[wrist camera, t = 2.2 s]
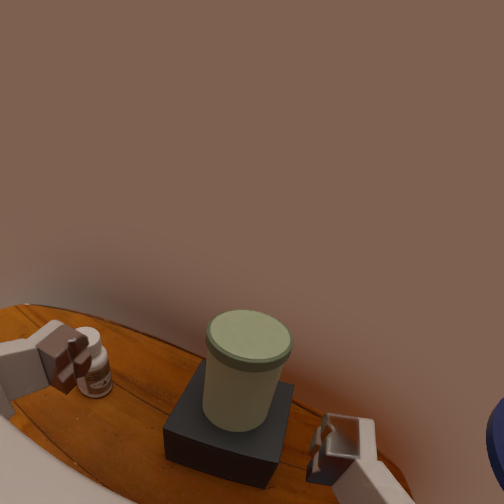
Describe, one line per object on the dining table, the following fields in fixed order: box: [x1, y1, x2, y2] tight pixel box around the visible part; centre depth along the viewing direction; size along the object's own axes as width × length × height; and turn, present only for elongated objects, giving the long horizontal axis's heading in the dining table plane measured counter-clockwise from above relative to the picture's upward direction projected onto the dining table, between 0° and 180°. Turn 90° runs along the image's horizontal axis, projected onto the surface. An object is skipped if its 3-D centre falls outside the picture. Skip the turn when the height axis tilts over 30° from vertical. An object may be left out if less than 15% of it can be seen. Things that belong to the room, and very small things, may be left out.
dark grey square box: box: [163, 360, 294, 489], centre depth 27 cm, size 10×10×6 cm
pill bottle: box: [75, 327, 112, 398], centre depth 29 cm, size 4×4×8 cm
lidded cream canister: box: [202, 309, 293, 432], centre depth 24 cm, size 6×6×9 cm
